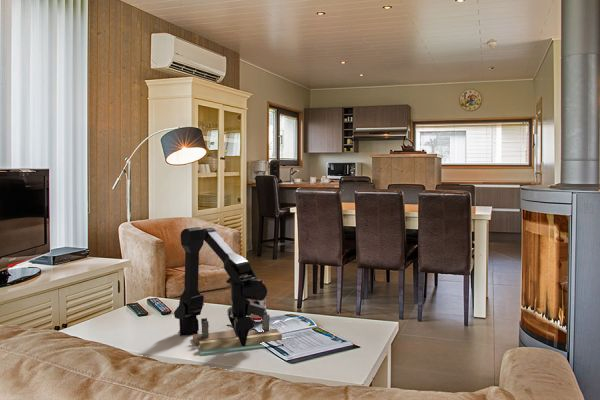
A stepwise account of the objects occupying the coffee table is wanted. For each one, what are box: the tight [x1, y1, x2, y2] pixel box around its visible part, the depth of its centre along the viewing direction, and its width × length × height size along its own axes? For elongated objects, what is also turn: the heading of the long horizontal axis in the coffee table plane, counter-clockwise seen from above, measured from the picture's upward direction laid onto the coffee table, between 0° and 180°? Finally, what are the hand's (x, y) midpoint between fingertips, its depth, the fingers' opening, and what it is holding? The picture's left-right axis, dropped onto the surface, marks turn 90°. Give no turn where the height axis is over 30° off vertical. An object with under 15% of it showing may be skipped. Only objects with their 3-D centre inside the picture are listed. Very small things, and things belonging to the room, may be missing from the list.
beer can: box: [249, 280, 267, 320], centre depth 212 cm, size 6×6×16 cm
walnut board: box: [192, 328, 280, 346], centre depth 192 cm, size 30×8×2 cm, turn 106°
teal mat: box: [198, 344, 265, 356], centre depth 182 cm, size 28×9×1 cm, turn 106°
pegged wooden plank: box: [200, 311, 271, 338], centre depth 192 cm, size 24×5×6 cm, turn 106°
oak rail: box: [198, 331, 283, 352], centre depth 182 cm, size 28×2×2 cm, turn 106°
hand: (241, 341), depth 182 cm, fingers open, 9 cm apart
